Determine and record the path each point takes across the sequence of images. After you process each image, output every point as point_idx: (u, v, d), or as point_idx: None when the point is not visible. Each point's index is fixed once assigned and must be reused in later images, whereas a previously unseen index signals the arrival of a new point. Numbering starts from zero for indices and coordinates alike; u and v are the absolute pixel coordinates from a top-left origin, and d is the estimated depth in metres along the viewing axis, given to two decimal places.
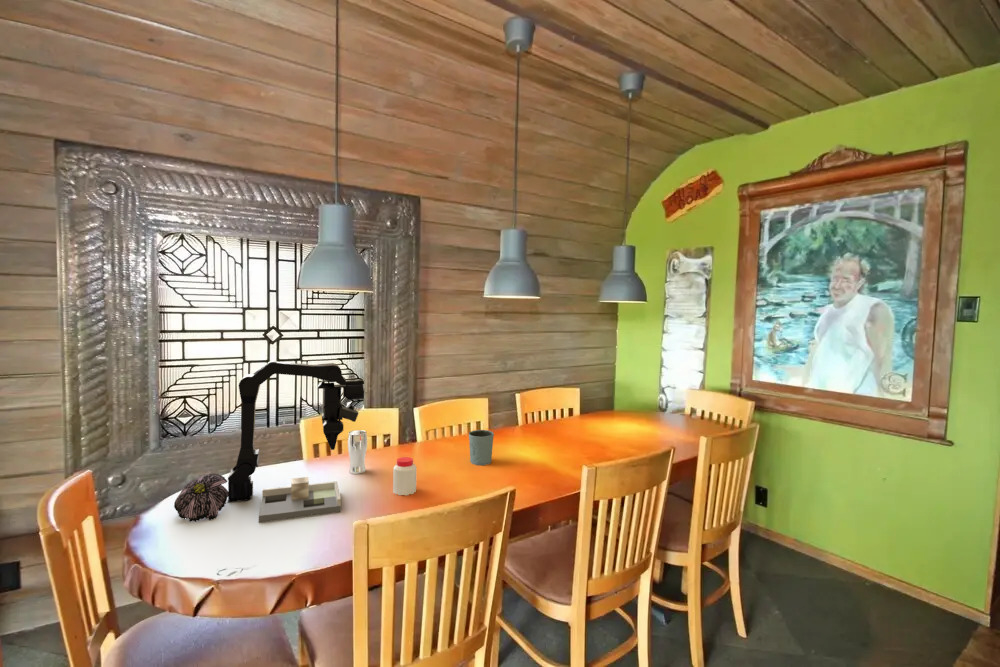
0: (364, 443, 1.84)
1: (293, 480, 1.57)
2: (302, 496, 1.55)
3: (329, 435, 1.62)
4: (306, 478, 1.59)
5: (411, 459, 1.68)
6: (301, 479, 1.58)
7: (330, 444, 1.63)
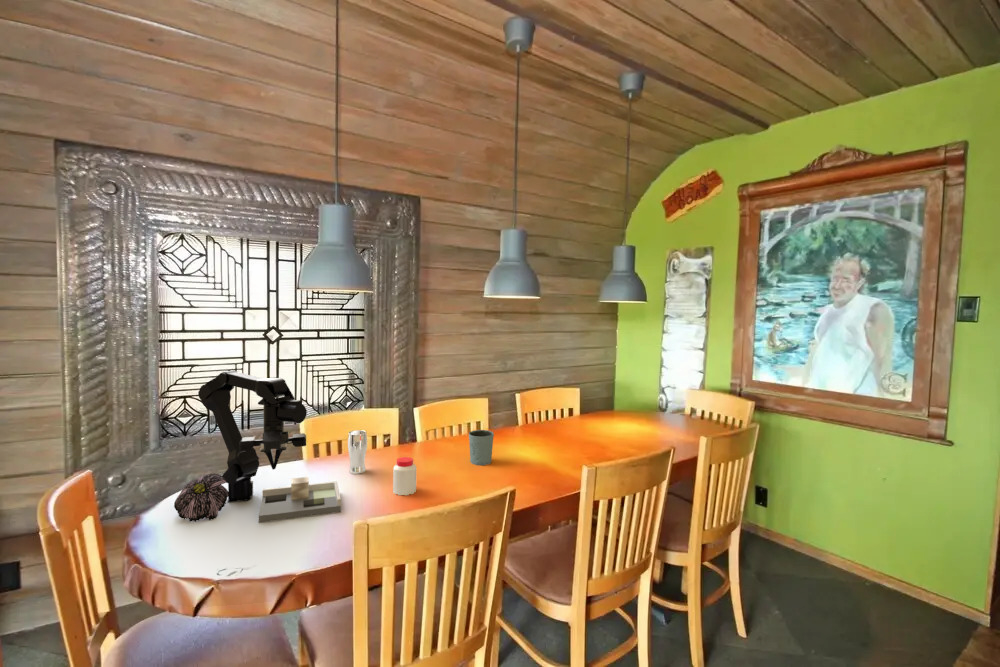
0: (364, 443, 1.84)
1: (293, 480, 1.57)
2: (302, 496, 1.55)
3: None
4: (306, 478, 1.59)
5: (411, 459, 1.68)
6: (301, 479, 1.58)
7: None
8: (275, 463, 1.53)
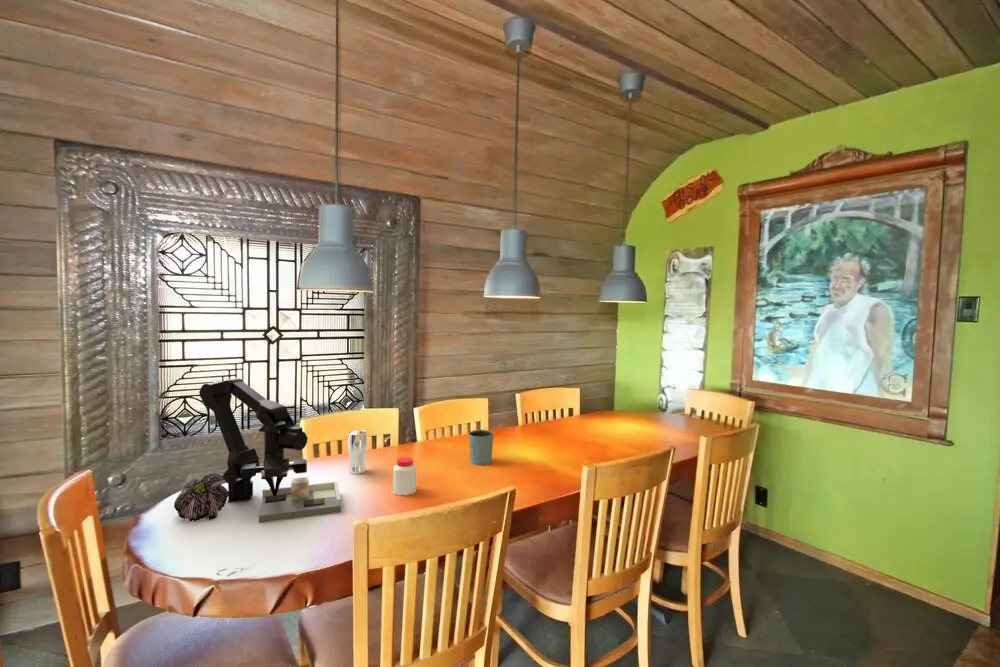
0: (364, 443, 1.84)
1: (293, 480, 1.57)
2: (302, 496, 1.55)
3: None
4: (306, 478, 1.59)
5: (411, 459, 1.68)
6: (301, 479, 1.58)
7: None
8: (276, 490, 1.53)
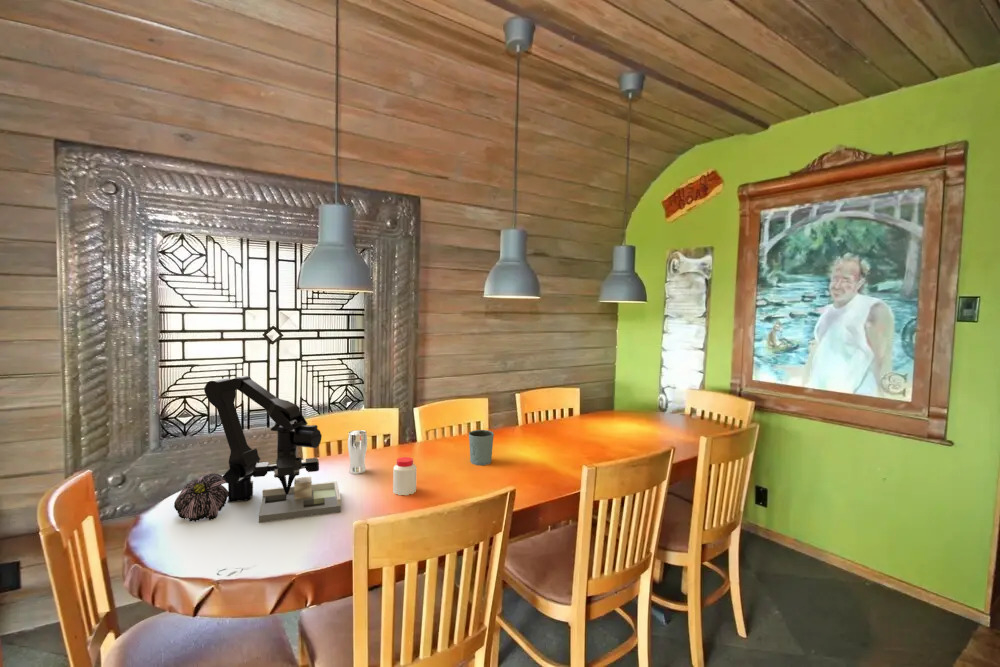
0: (364, 443, 1.84)
1: (296, 480, 1.57)
2: (305, 496, 1.55)
3: None
4: (309, 478, 1.59)
5: (411, 459, 1.68)
6: (304, 479, 1.58)
7: None
8: (288, 488, 1.55)
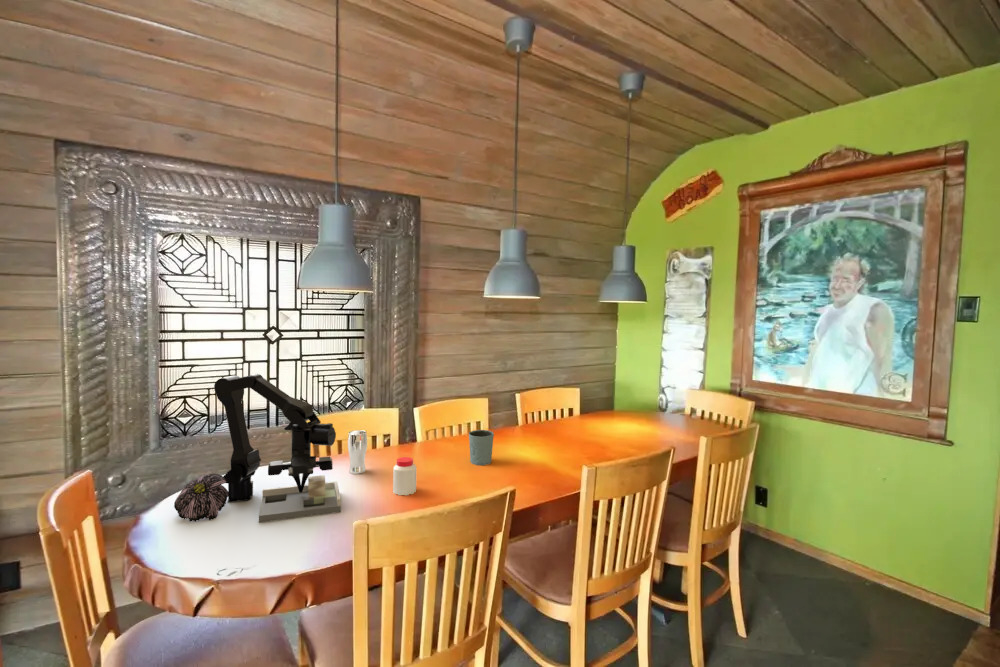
0: (364, 443, 1.84)
1: (310, 478, 1.58)
2: (319, 494, 1.57)
3: None
4: (322, 476, 1.60)
5: (411, 459, 1.68)
6: (317, 477, 1.60)
7: None
8: (302, 486, 1.56)
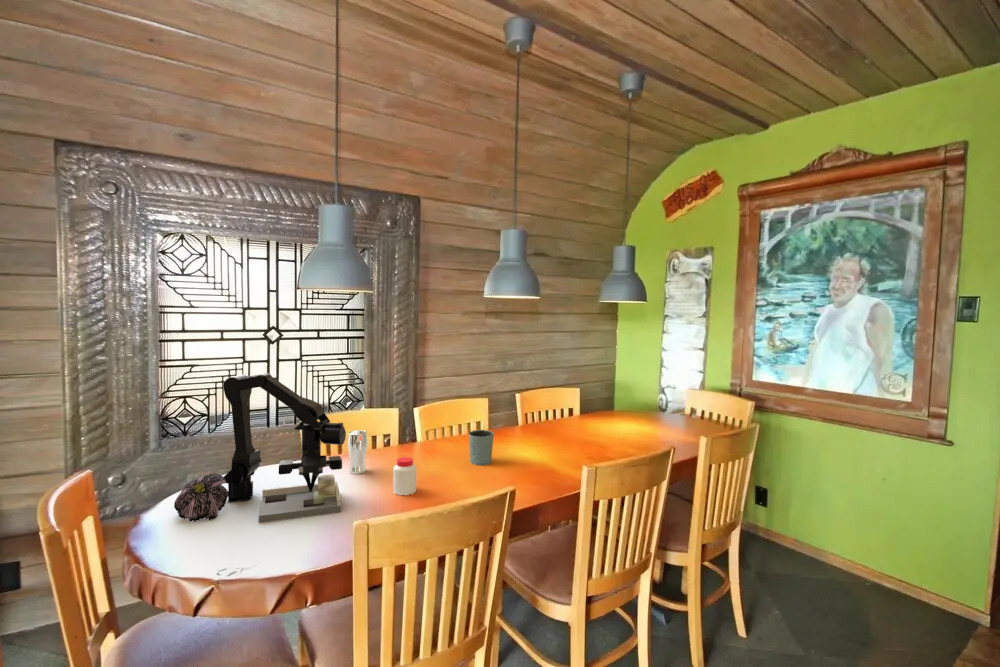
0: (364, 443, 1.84)
1: (319, 477, 1.60)
2: (328, 493, 1.58)
3: None
4: (332, 475, 1.62)
5: (411, 459, 1.68)
6: (327, 476, 1.61)
7: None
8: (312, 485, 1.57)
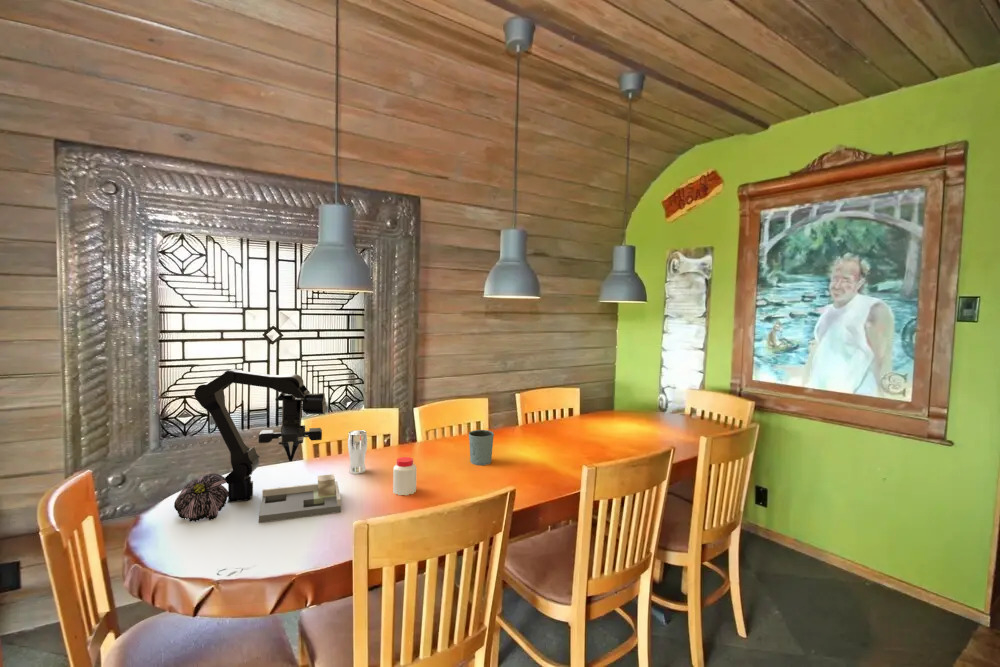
0: (364, 443, 1.84)
1: (319, 477, 1.60)
2: (328, 493, 1.58)
3: None
4: (332, 475, 1.62)
5: (411, 459, 1.68)
6: (327, 476, 1.61)
7: None
8: (292, 455, 1.60)
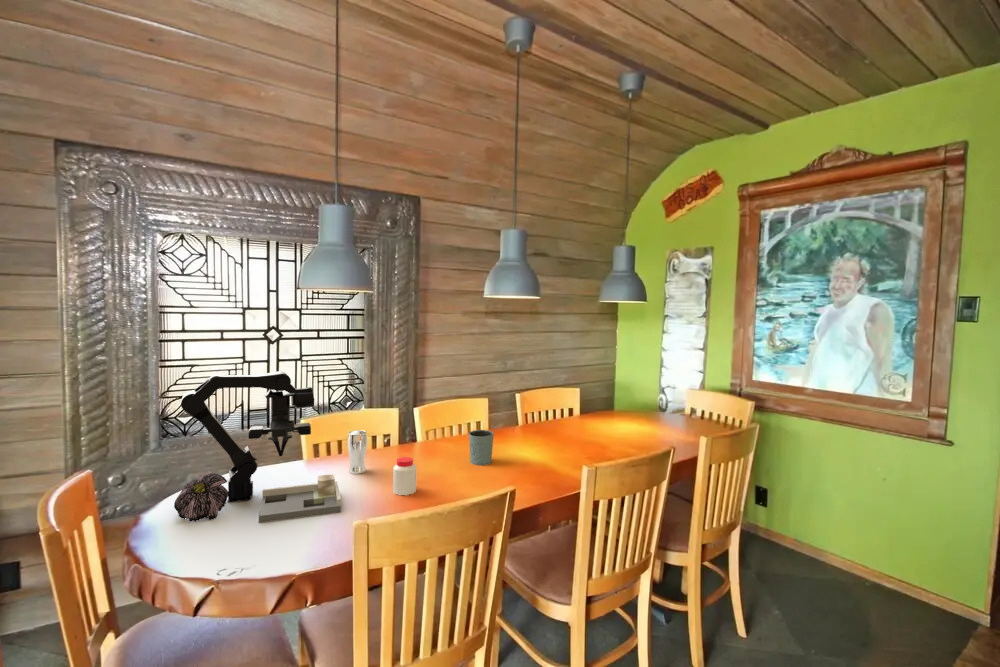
0: (364, 443, 1.84)
1: (319, 477, 1.60)
2: (328, 493, 1.58)
3: None
4: (332, 475, 1.62)
5: (411, 459, 1.68)
6: (327, 476, 1.61)
7: None
8: (282, 450, 1.64)
